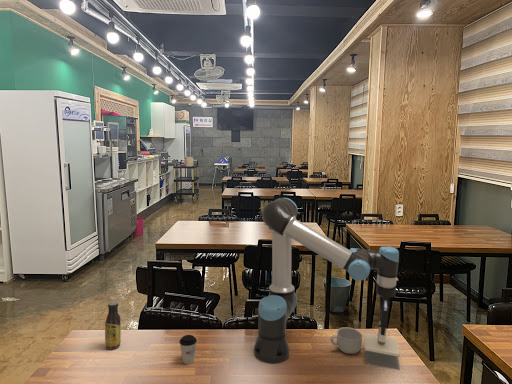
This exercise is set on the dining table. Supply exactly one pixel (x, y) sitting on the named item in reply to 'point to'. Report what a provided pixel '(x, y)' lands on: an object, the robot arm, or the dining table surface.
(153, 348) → the dining table surface
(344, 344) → the teacup
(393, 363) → the mat
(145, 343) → the dining table surface
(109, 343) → the sauce bottle
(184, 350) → the coffee cup
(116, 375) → the dining table surface
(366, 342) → the lid
